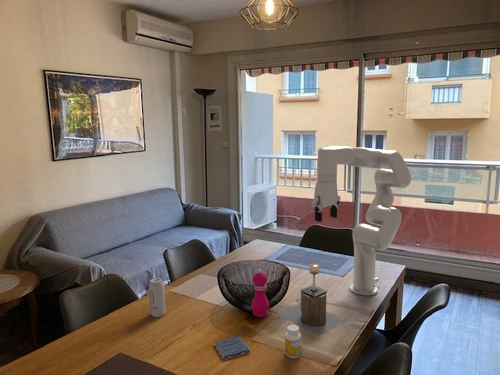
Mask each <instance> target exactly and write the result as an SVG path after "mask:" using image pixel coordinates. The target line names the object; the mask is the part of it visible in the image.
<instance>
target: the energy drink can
mask: <svg viewBox="0 0 500 375" xmlns="http://www.w3.org/2000/svg"><path fill="white" fill-rule="evenodd" d="M148 294H149V310H150V315H151V316H152V317H153V318H161V317H163V316H165V313H166V297H165V294H166V293H165V283H164V281H163V279H162V278H160V277H155V278H152V279H150V281H149V284H148Z"/></svg>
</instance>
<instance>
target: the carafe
mask: <svg viewBox="0 0 500 375" xmlns="http://www.w3.org/2000/svg"><path fill="white" fill-rule="evenodd" d="M327 293H328V291H327V290H325V289H323V288H320V287H318V286H316V285H315V292H313V284H312V285H310V286H308V287H305V288H302V289H301V290H300V303H301V311H302V316H301V321H302V322H303V323H304V324H306V325H309V326H321V325H324V324H325V323H326V312H327Z"/></svg>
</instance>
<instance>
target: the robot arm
mask: <svg viewBox="0 0 500 375" xmlns="http://www.w3.org/2000/svg"><path fill="white" fill-rule="evenodd" d="M337 165H341V166H342V165H344V166H351V167H356V168H367V169H376V170H375V172H374V184H375V189H376V190H375V195H374V198H372V201H371V203H370V205H369V207H368V209H367V210H366V214H365V220H366V222H367V223H358V224H356V225H355V226H354V227H353V228H352V241H353V254H354V255H353V274H352V275H353V279H352V280H353V281H352V283H351V284H349V290H350V291H351V292H352V293H353V294H357V295H360V296H365V297H366V296H374V295H377V293H378V291H379V288H378V287H377V286H376V283H378V282H379V281H380V278H378V277H376V276H375V275H376V257H377V254H376V250H375V249H377V250H378V251H379V250H380V251H384V250H387V249H389V247H390V245H391V244H392V242H393V240H394V239H395V236H396V234H397V232H398V231H399V228H400V226H401V223H402V218H403V217H402V212H401V211H400V210H399V209H398V208H397V207H392V206H393V204H394V200H395V196H394V192H393V191H392V188H397V189H398V188H400V189H405V188H407V187H409V185H410V184H411V181H412V174H411V171H410V169H409V168H408V165H407V163H406V161H405V159H404V158H403V157H402V154H400V152H399V151H396V150H390V149H389V150H386V149H377V148H375V149H374V148H368V147H358V146H357V147H354V146H353V147H350V146H345V145H344V146H343V145H326V146H324V147H319V148H318V149H317V180H316V183H315V186H314V193H313V194H314V196H313V200H312V201H311V206H312V209H313V212H314V221H315V222H318V223H322V222H323V212H322V211H323V209H324V208H327V207H330V209H329V217H330V218H334V219H337V218H338V209H339V205H340V203H341V196H340V195H339V194H338V183H337V172H338V171H337V169H338V166H337ZM368 223H369V224H368Z"/></svg>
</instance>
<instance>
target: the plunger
mask: <svg viewBox="0 0 500 375" xmlns="http://www.w3.org/2000/svg"><path fill="white" fill-rule="evenodd" d="M308 268H309V270H308V273H309V274H310V275H312V285H313V292H315V286H316V275H319V274H320V265H319V264H317V263H311V264H309V265H308Z"/></svg>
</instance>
